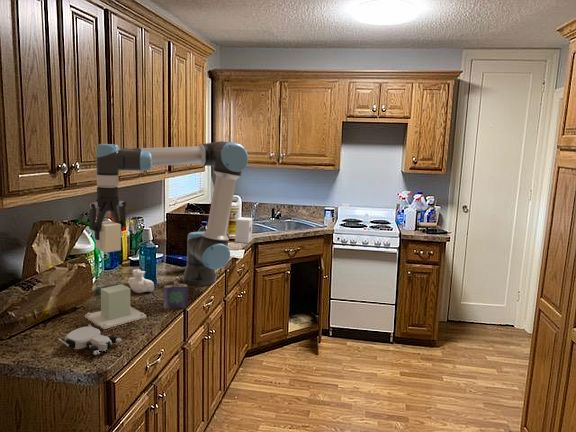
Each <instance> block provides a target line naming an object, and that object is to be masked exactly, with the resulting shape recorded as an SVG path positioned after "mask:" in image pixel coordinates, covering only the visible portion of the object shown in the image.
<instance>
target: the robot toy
mask: <svg viewBox="0 0 576 432" xmlns="http://www.w3.org/2000/svg"><path fill="white" fill-rule="evenodd" d="M122 340H123V339H122V338H120V337H117V336H116V335H115V336H114V335H111V336H108V335H104V334H103V335H102V334H101V331H100V329H99V328H96V327H94V326H92V325H91V324H88V326H82V327H79V328H75V329H74V330H72V331H70V332H69V333H67V334H66V336H65V337H64V340H62V339H61V338H58V341H59V342H61V343H63V344H64V345H65V346H66V347H67V348H70V349H72V350H82V349H86V348H87V349H89V352H90V353H91V355H94V356H97V355H100V354H101V352H99V351H102V352H103V351H105V352H107V351H109V350H111V349H112V344H116V343H121V342H122ZM106 350H107V351H106Z"/></svg>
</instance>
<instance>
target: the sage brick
mask: <svg viewBox="0 0 576 432" xmlns="http://www.w3.org/2000/svg"><path fill="white" fill-rule="evenodd" d="M130 307H131V287H130V286H129V287H128V286H127V285H124V284H122V283H120V284H118V285H110V286H107V287H102V288H100V311H101V316H103V317H105V318H106V319H108V320H113V319H117V318H120V317H124V316H128V315H130Z"/></svg>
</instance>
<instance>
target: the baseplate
mask: <svg viewBox="0 0 576 432" xmlns="http://www.w3.org/2000/svg"><path fill="white" fill-rule="evenodd" d="M84 318H85V319H86V318H87V319H88V320H87V319H86V320H87V321H89V320H90V321H92V322H93V323H95V324H97V325H98V326H100V327H101V328H103V329H106V328H110V327H113V326H117V325H121V324H124V323H127V322H131V321H134V320H139V319H142V318H146V319H147V315H146V314H145V313H144V312H141V311H140V310H138V309H136V308H134V307H133V306H130V315H128V316H124V317H120V318H117V319H113V320H108V319H106V318H105V317H103V316H101V310H100V311H95V312H87V313H86V314H84ZM142 320H143V319H142ZM90 321H89V322H90ZM139 321H140V320H139ZM92 322H91V323H92ZM93 323H92V324H93ZM95 324H94V325H95ZM98 326H97V327H98ZM101 328H100V329H101Z"/></svg>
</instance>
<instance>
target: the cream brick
mask: <svg viewBox="0 0 576 432" xmlns="http://www.w3.org/2000/svg"><path fill="white" fill-rule="evenodd" d="M100 231H102V249H99V248H97V240H96V239H95V238H94V239H95V240H94V241H95V249H97V250H99V251H101V252H103V253H110V252H111V253H112V252H119V251H121V250H122V229H121V224H118V223H115V222H114V221H112V220H105V221H104V220H103V222H102V225H101V229H100Z"/></svg>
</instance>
